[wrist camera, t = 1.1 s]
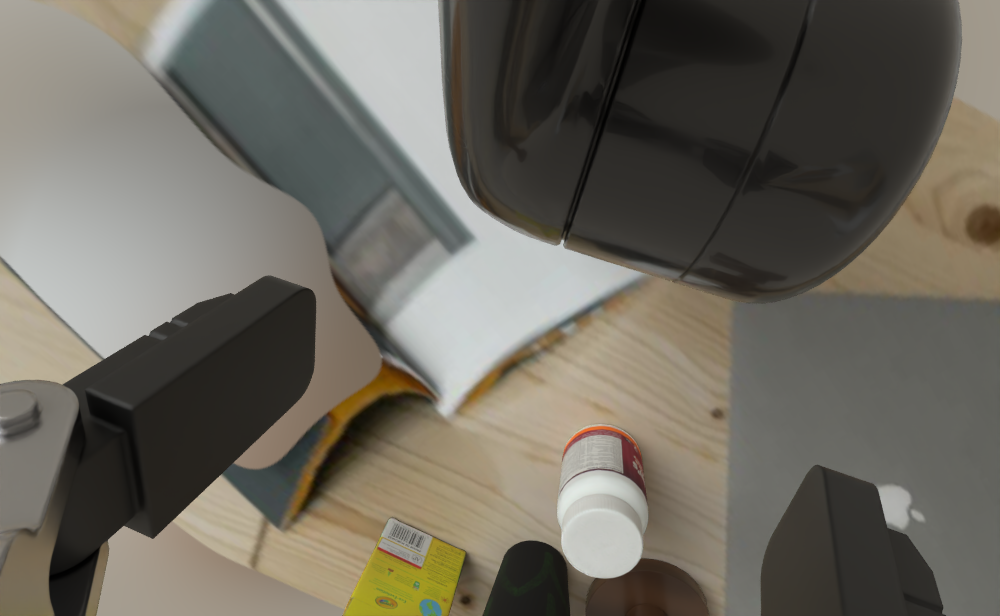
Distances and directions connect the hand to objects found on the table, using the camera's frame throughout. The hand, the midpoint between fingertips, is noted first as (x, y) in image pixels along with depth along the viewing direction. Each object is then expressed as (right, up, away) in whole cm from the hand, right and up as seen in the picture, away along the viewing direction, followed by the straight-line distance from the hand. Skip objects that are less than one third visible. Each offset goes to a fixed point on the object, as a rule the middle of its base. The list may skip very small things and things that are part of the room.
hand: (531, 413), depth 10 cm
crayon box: (-7, -19, +46) cm, 50 cm away
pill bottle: (+8, -10, +41) cm, 43 cm away
